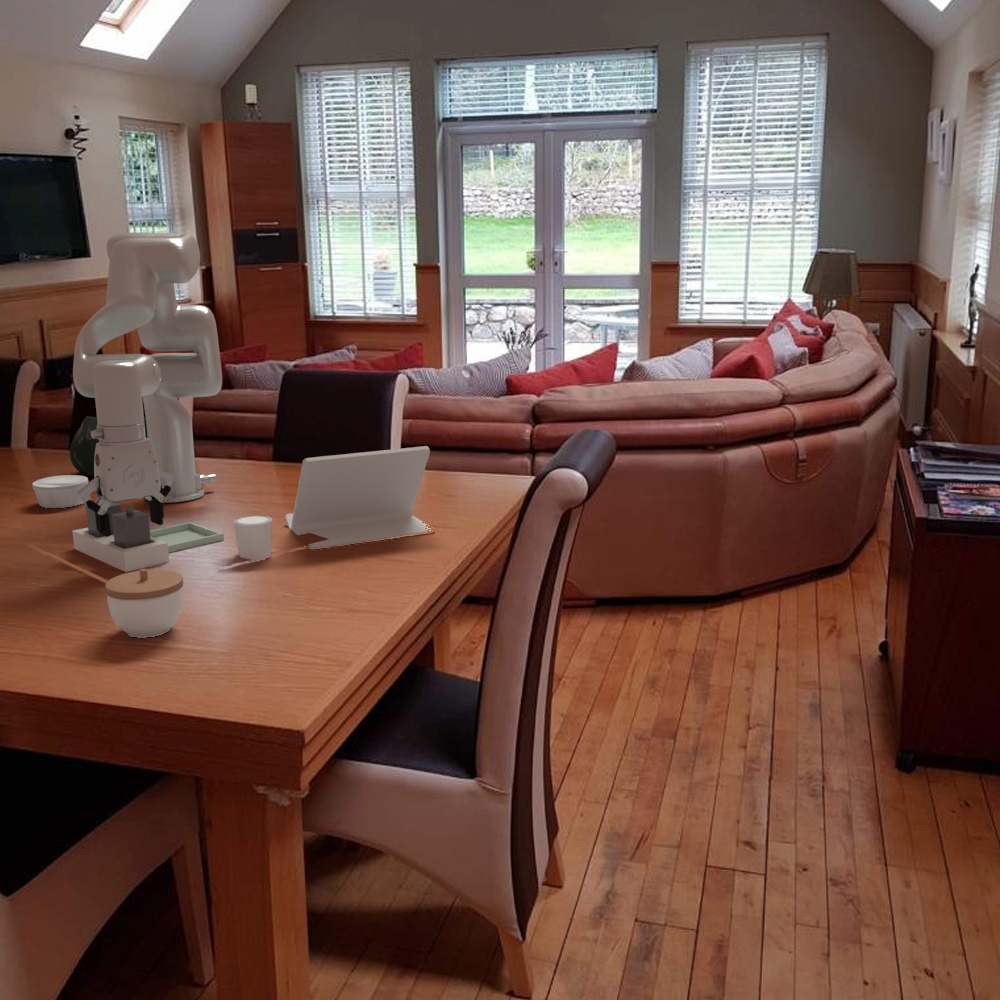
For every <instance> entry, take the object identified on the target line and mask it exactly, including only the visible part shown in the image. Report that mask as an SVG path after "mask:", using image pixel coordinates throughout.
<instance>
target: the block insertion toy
mask: <svg viewBox="0 0 1000 1000" xmlns="http://www.w3.org/2000/svg"><path fill="white" fill-rule="evenodd" d="M85 510H86V511H85V512H86V521H87V527H85V528H80V529H74V530H72V538H73V549H74V550H76V551H78V552H81V553H83V554H85V555H87V556H89V557H92V558H94V559H96V560H99V561H100V562H103V563H104V564H107V565H109V566H112V567H114V568H115V569H118V570H121V571H123V572H125V573H129V572H134V571H138V570H141V569H146V568H149V567H153V566H157V565H161V564H166V563H169V562H170V558H169V557H170V555H169V553H168V543H166V542H164V541H161V540H159V539H156V538H153V537H151V536H150V539H151V543H149V544H145V545H140V546H136V547H131V548H127V549H123V548H121V547H118V546H116V545H115V543H114V533H113V523H112V514H117V513H122V504H120V503H119V502H117V503H111V504H110V506H109V507H108V509H107V511H106V514H108V515H109V520H110V529H111V535H110V536H109V537H106V536H103V535H101V534H100V533H99V532H98V531H97V528H96V519H95V512H93V511H92V510H90V509H89V508H88V507H86V506H85Z"/></svg>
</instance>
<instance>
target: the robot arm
mask: <svg viewBox="0 0 1000 1000" xmlns="http://www.w3.org/2000/svg"><path fill="white" fill-rule="evenodd" d="M106 253H107V256H108V260H109V263H108V264H109V265H108V276H107V287H106V288H107V289H106V298H105V299H106V300H105V301H106V302H105V305H103V307H102V308H100V309H99V310H97V311H96V312H95V313H94V314H93V315H92V316H91V317H90V318H89V319H88V321H86V322H85V324H84V325H83V326H82V328H81V329H80V331H79V333H78V334H77V337H76V341H75V346H74V354H73V355H74V356H73V364H72V365H73V367H72V377H73V384H74V387H75V389H76V391H77V393H79V394H80V395H81V396H83V397H85V398H94V400H95V401H94V402H95V408H96V409H95V410H96V411H95V412H96V417H97V422H98V425H97V429H96V430H95V431H91V437H92V438H93V439H94V438H97V439H98V440H99V443H96V449H95V459H94V477H93V479H92V480H90V481H88V484H86V485H85V486H84V487H82V488H81V489H80V490H78V491H77V495H78V496H79V498H80V499H81V501H82V502H83V504H82V505H83V506H85V508H86V507H88V508H89V509H90V510H92V511H93V512H95V519H96V528H97V531H98V532H99V533H100V534H101V535H103V536H106V537H109V536H110V535H111V529H110V520H109V515H108V514H106V511H107V509H108V507H109V506H110V504H111V503H123V502H128V501H133V500H139V499H142V498H145V500H146V501H148V505H149V514H150V515H149V517H150V522H151V523H153V524H155V525H159V526H162V525H163V524H164V518H165V515H164V514H165V513H164V504H165V503H170V504H171V503H181V502H187V501H192V500H196V499H197V500H198V499H200V498H202V497H203V496H204V495H205V488H203V487H202V486H204V485H205V484H212V483H216V482H217V476H216V474H215V473H209V474H199V473H197V471H196V461H195V449H194V435H193V422H192V421H193V420H192V416H191V415H190V414H191V413H190V412H189V411H188V409H187V408H186V406H184V405H183V404H182V403H181V401H180V400H179V399H183V398H204V397H205V398H206V397H213V396H216V395H218V394H219V393H220V391H221V390H222V386H223V372H222V364H221V363H222V362H221V355H220V353H221V352H220V345H219V335H218V327H217V323H216V319H215V315H214V313H213V312H212V310H211V309H210V308H209V307H207V306H206V305H200V304H178V302H177V296H176V289H175V284H187V283H188V282H190V281H191V280H192V279H193V278H194V277H195V275H197V272H198V270H199V268H200V263H201V253H200V248H199V244H198V242H197V239H196V238H195V237H194V236H193V235H192V234H190V233H187V232H124V233H122V232H121V233H115V234H114V235H111V237H109V238H108V239H107V242H106ZM135 330H137V333H138V337H139V341H140V343H141V344H142V346H143V347H144V348H145V349H146V350H149V351H157V352H160V353H152V354H144V353H108V354H107V353H106V354H105V353H103V354H102V353H101V354H100V353H99V354H97V353H98V352H99V350H100V349H101V348H102V347H104V345H105V344H107V343H109V342H111V341H113V340H114V339H116V338H119V337H120V336H124V335H126V334H128V333H131V332H133V331H135ZM179 351H181V352H179ZM183 351H188V352H183ZM189 351H192V352H189ZM161 352H162V353H161ZM163 352H165V353H163ZM166 352H167V353H166ZM144 415H145V416H144ZM145 425H146V426H145ZM146 436H147V437H146ZM94 491H95V494H96V497H97V498H96V500H95V501H94V500H93V499H92V498H91V497H90V496H91V494H92V493H93V492H94Z"/></svg>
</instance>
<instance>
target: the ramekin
mask: <svg viewBox="0 0 1000 1000" xmlns="http://www.w3.org/2000/svg"><path fill="white" fill-rule="evenodd" d="M88 483H89V479H88V477H87V476H84V475H74V474H73V475H72V474H67V475H65V474H64V475H63V474H62V475H53V476H48V477H44V478H39V479H36V480H35V481H33V482H32V489H33V490H34V493H35V498H36V501H37V503H38V504H39V506H40V507H41V506H42V507H41V508H43V507H45V508H44V509H47V508H64V509H66V508H65V507H71V506H76V505H79V506H81V505H84V504H83V502H82V501H81V499H80V498H79V496H78V495H77V491H78V490H80V489H81V488H82V487H84V486H85V485H86V484H88ZM80 504H81V505H80ZM76 507H77V506H76ZM71 508H72V507H71Z"/></svg>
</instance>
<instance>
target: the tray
mask: <svg viewBox="0 0 1000 1000" xmlns="http://www.w3.org/2000/svg"><path fill="white" fill-rule="evenodd" d="M150 536H151V537H153V538H156V539H159V540H161V541H164V542H166V543H168V554H169V553H170V554H171V553H174V552H179V551H183V550H187V549H192V548H196V547H200V546H203V545H204V546H205V545H207V544H208V545H209V544H213V543H216V542H221V541H224V540H225V534H224V533H223V532H220V531H217V530H215V529H212V528H209V527H207V526H203V525H202V524H201V525H200V524H198V523H195V522H191V521H190V522H189V521H188V522H185V523H184V522H183V523H180V524H175V525H171V526H165V527H162V528H156V529H152V530H151V529H150Z"/></svg>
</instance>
